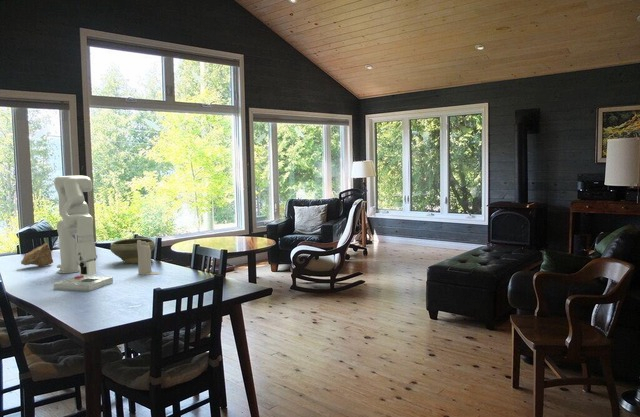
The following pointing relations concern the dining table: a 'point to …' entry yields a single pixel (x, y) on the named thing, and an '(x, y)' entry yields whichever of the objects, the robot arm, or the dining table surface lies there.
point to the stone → (38, 256)
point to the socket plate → (83, 283)
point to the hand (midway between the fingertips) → (87, 272)
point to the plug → (89, 267)
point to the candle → (144, 258)
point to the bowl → (129, 249)
